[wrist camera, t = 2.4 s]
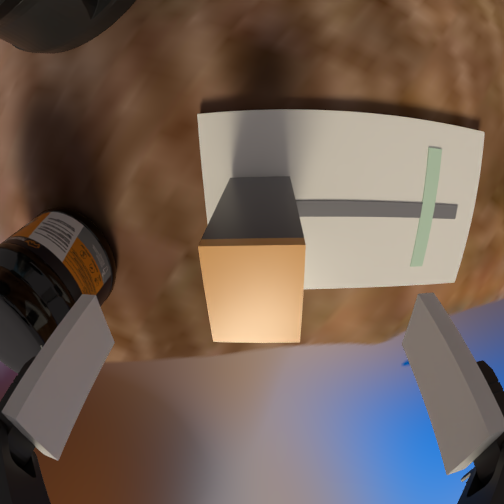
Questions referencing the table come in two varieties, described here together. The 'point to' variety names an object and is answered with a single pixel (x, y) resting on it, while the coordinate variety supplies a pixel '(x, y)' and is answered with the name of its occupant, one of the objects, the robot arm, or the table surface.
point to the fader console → (356, 188)
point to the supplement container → (48, 279)
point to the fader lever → (254, 262)
